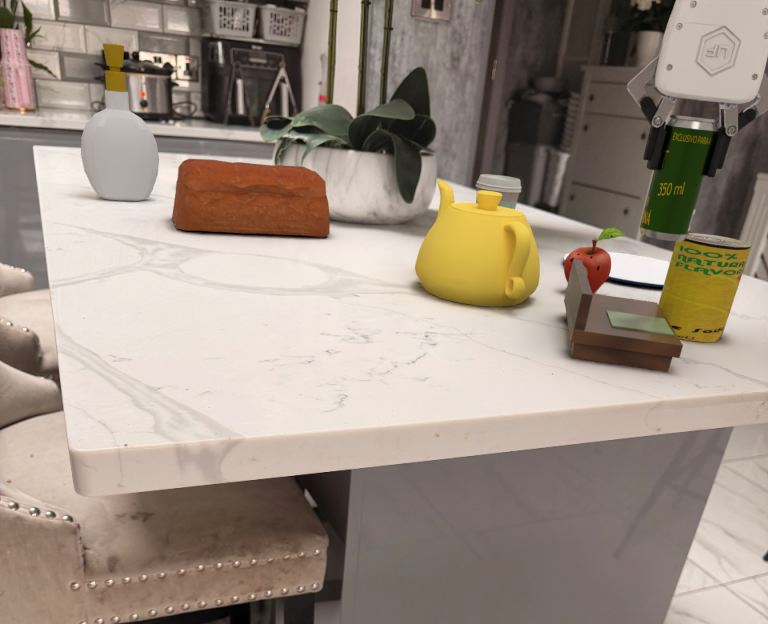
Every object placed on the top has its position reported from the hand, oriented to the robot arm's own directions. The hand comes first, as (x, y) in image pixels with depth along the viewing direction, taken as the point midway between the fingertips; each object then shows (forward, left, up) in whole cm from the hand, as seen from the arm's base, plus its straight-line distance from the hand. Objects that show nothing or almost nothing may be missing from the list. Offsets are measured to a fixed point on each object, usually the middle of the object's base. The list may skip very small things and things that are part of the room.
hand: (680, 170), depth 82 cm
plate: (-6, -51, -20) cm, 55 cm away
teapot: (+21, -20, -20) cm, 35 cm away
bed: (+2, -3, -20) cm, 20 cm away
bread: (+62, -44, -20) cm, 79 cm away
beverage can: (-9, -14, -20) cm, 26 cm away
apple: (+4, -28, -20) cm, 35 cm away
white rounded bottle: (+92, -56, -20) cm, 110 cm away
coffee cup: (+20, -60, -20) cm, 66 cm away
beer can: (0, 0, -7) cm, 7 cm away
